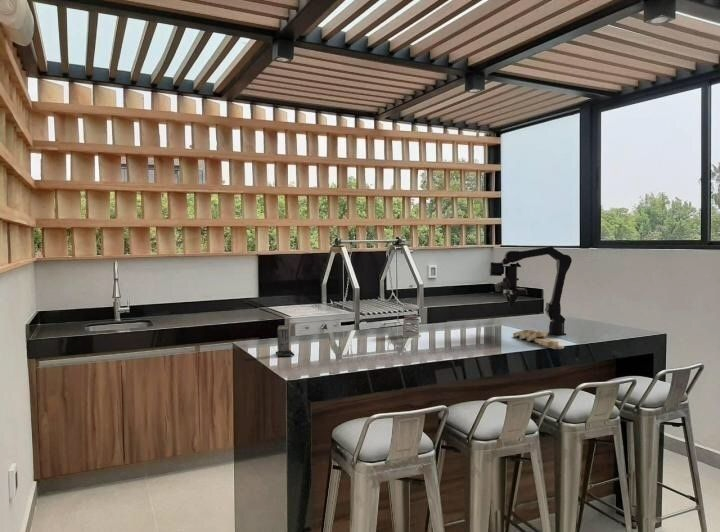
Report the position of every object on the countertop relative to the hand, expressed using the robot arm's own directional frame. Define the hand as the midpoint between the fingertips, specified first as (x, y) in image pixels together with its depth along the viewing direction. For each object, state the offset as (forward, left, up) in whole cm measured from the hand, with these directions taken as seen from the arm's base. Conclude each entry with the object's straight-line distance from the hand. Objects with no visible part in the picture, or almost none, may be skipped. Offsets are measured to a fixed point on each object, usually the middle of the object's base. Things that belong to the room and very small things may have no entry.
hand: (510, 307), depth 274 cm
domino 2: (+3, +15, -12) cm, 20 cm away
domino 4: (+4, +28, -11) cm, 30 cm away
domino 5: (+3, +29, -13) cm, 32 cm away
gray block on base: (+116, +12, -13) cm, 117 cm away
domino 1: (+2, +9, -12) cm, 15 cm away
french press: (+50, -11, -13) cm, 53 cm away
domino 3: (+3, +21, -12) cm, 24 cm away
